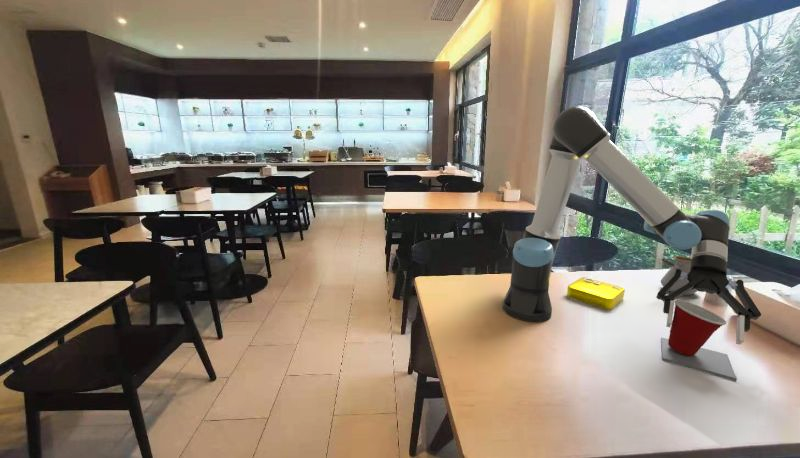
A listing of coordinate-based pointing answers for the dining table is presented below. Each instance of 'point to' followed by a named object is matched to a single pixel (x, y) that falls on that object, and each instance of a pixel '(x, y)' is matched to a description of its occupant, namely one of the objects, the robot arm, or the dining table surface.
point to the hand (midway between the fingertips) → (702, 333)
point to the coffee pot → (680, 264)
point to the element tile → (596, 293)
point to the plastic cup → (692, 327)
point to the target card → (700, 360)
